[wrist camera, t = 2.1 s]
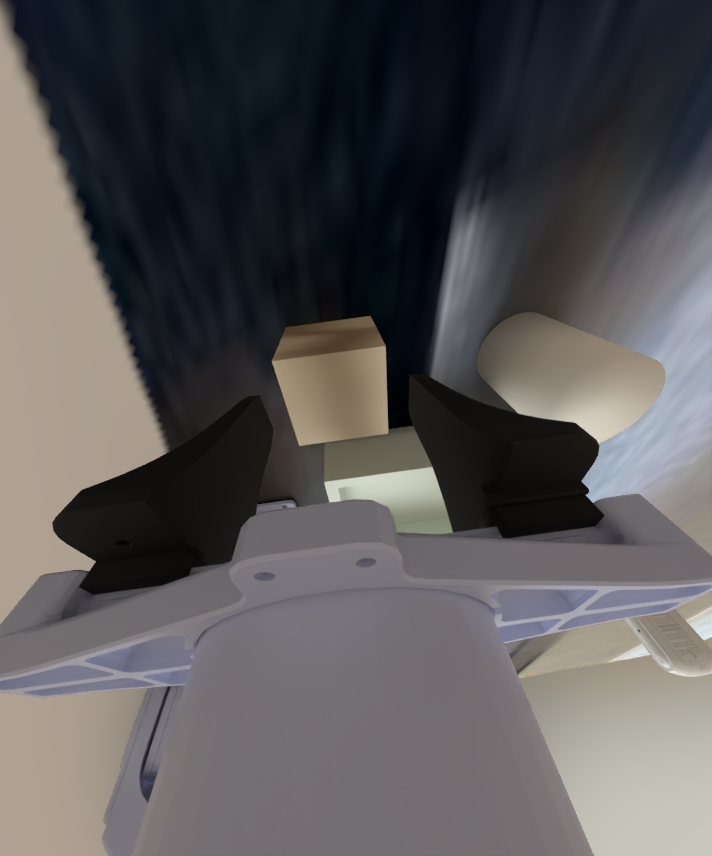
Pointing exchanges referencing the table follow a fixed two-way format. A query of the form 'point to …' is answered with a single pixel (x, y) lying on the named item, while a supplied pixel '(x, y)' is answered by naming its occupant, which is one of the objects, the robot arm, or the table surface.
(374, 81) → the table surface
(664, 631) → the white rounded block
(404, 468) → the tote
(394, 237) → the table surface
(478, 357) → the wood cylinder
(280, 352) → the oak cube
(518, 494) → the robot arm
